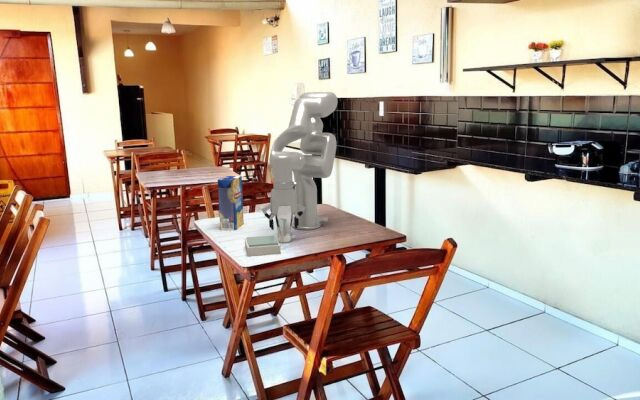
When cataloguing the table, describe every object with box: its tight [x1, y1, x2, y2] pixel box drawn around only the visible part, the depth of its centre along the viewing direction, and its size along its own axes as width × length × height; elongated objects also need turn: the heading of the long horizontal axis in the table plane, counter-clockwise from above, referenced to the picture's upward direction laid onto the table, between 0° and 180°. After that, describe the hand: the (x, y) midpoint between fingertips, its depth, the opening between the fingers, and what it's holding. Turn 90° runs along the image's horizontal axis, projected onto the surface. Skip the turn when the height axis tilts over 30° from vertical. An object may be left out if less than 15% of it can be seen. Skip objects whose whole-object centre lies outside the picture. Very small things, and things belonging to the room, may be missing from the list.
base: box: [244, 234, 282, 257], centre depth 198 cm, size 12×12×4 cm
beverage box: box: [217, 175, 245, 231], centre depth 231 cm, size 7×11×22 cm, turn 168°
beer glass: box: [274, 205, 294, 244], centre depth 209 cm, size 7×7×15 cm
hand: (284, 228), depth 209 cm, fingers open, 9 cm apart
